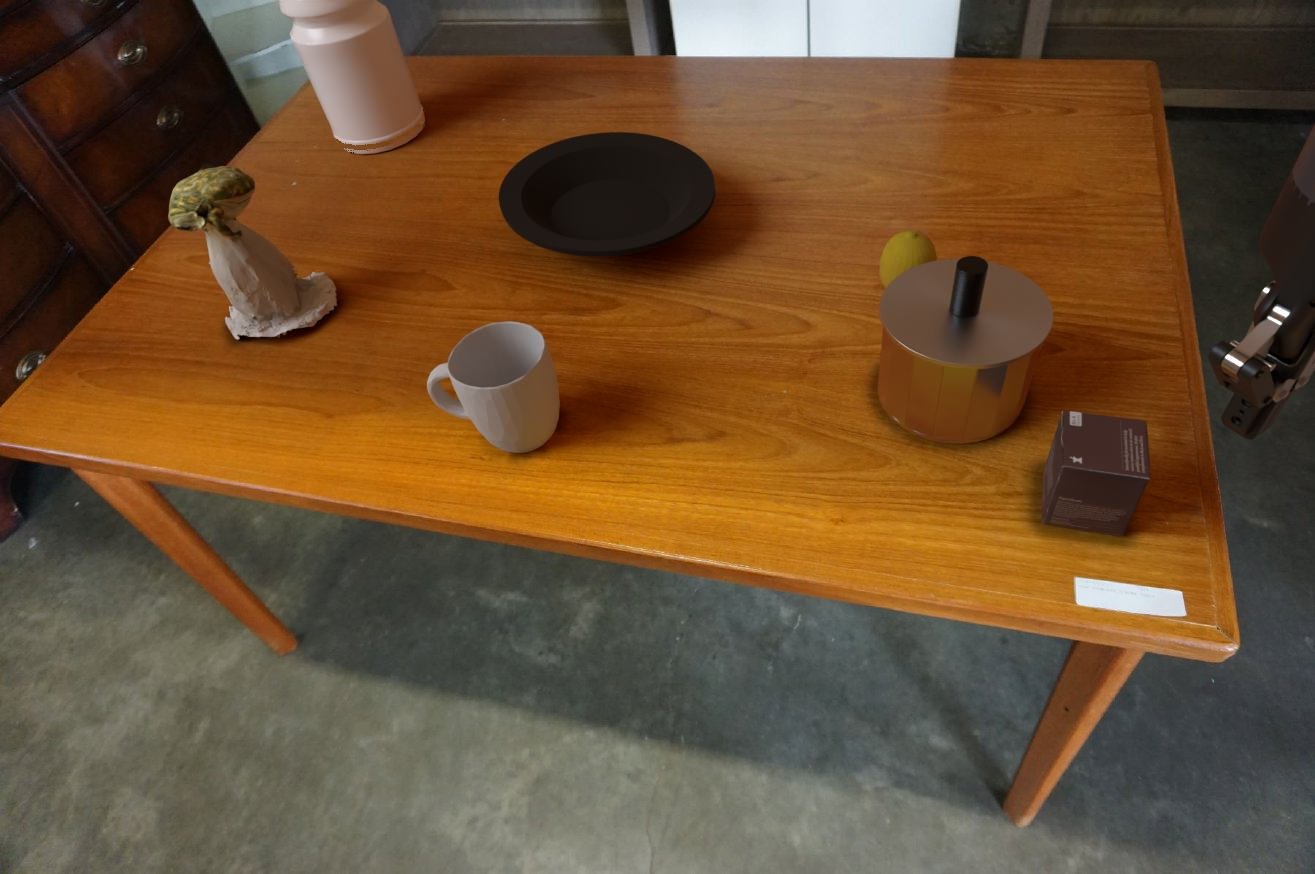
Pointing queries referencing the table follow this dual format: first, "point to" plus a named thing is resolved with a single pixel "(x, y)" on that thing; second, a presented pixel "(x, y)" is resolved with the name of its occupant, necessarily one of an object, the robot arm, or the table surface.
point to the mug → (502, 385)
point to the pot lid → (966, 313)
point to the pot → (951, 395)
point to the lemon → (905, 254)
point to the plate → (607, 194)
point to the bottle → (356, 69)
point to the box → (1095, 472)
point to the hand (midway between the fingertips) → (1243, 426)
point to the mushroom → (247, 257)
